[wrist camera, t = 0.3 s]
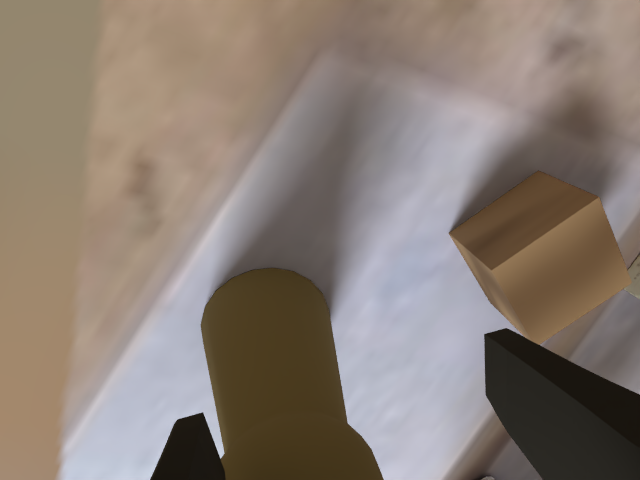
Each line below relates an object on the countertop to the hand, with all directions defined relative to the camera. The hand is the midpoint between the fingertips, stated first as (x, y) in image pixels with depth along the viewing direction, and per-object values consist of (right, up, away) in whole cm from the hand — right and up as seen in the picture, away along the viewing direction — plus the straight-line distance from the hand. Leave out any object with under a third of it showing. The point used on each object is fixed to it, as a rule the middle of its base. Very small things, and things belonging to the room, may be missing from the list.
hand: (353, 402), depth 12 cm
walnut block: (+9, +4, +12) cm, 15 cm away
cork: (-3, 0, +11) cm, 11 cm away
